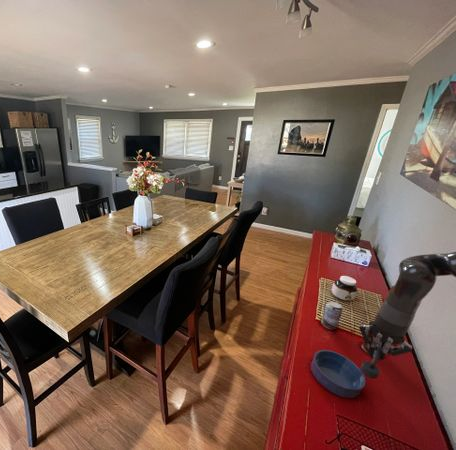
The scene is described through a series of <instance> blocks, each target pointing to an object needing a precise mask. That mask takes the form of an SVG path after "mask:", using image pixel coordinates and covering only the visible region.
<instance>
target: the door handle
mask: <svg viewBox="0 0 456 450" xmlns="http://www.w3.org/2000/svg"><path fill="white" fill-rule="evenodd" d="M381 345H382V342H381V341H379V343H378V344H377V346H376V349H375V350H374V355H373V356H372V360H371V362H370V361H363V362H362V363H361V366H360V367H359V369H360V370H361V372H362V373H363V375H364V376H365V377H368V378H369V379H371V380H372V379H373V380H375V379H377V378H378V377H379V376H380V373H381V370H380V368H379V367H378V366H377V365H376V364H377V363H378V361H380V360H379V356H380V350H381Z"/></svg>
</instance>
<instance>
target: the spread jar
mask: <svg viewBox="0 0 456 450" xmlns="http://www.w3.org/2000/svg"><path fill="white" fill-rule="evenodd" d="M356 284H357V280H356V279H355V278H353V277H350V276H348V275H341V276H340V277H339V279H336V280H335V281H334V282H333V283H332V286H331V293H332V295H333V297H335V298H336V299H337V300H339V301H341V302H351V301H353V300H354V299H355V298H356V296H357V294H358V287H357V285H356Z"/></svg>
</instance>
